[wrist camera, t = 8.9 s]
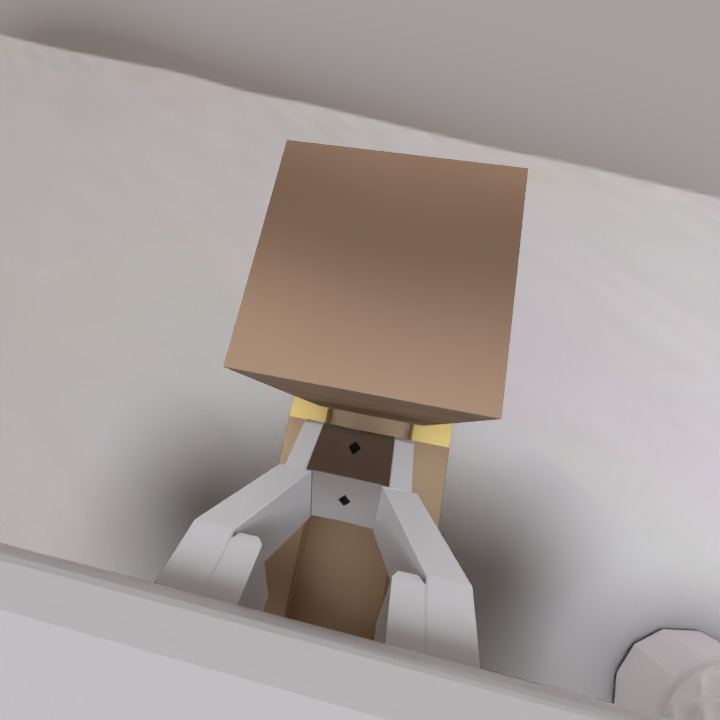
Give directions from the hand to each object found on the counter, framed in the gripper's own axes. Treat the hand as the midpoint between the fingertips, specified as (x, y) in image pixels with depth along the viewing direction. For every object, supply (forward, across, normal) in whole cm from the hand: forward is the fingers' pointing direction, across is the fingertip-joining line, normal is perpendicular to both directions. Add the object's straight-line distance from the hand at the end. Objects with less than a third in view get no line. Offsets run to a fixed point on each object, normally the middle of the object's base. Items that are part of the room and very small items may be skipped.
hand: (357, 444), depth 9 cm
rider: (+7, 0, -2) cm, 7 cm away
